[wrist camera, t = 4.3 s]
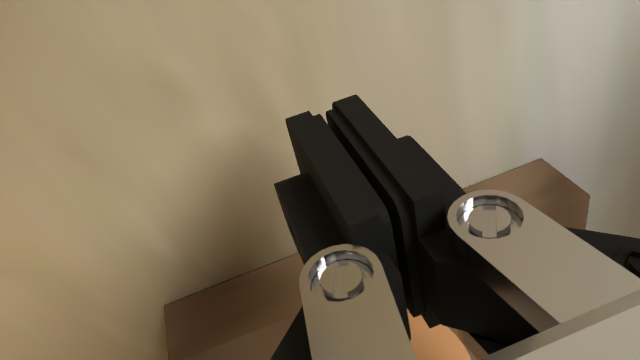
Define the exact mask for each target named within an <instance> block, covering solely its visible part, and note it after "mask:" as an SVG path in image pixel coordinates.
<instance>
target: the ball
mask: <svg viewBox="0 0 640 360" xmlns="http://www.w3.org/2000/svg"><path fill="white" fill-rule="evenodd" d="M407 314H408V320H409V326H410V332H411V340H410V343H411V346H412V349H413V352H414V354H415V357H416V360H471V358H470V355H469V353H468V352H467V350H466V348H465V346H464V345H463V344H462V342H461V341H460V340H459V338H458V337H457V336H456V335H455V334H454V333H453V332H452V331H451V330H450V329H449V328H448V327H447V326H443V325H441V324H440V325H438V326H435V327H433V328H429V327H428V325H427V324H426V322H425V320H424V319H423V317H422V316H421V315H419V316H417V317H413V316H412V315H411V314H410V312H409V310H408V309H407Z"/></svg>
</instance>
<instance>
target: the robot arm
mask: <svg viewBox="0 0 640 360" xmlns="http://www.w3.org/2000/svg"><path fill="white" fill-rule="evenodd" d="M332 108H333V109H332V110H329V111H326V118H327V122H328V124H327V123H326V122H325V120H324V119H323V117H322V116H321V115H320V114H318V115H315V116H312V114H311V113H310V112H309V111H307V112H304V113H301V114H298V115H295V116H293V117H290V118H287V119H286V125H287V128H288V132H289V135H290V139H291V142H292V146H293V149H294V153H295V156H296V160H297V163H298V166H299V170H300V173H301V174H300V175H297V176H294V177H292V178H289V179H286V180H283V181H281V182H278V183H275V184H274V186H275V189H276V192H277V195H278V198H279V201H280V204H281V207H282V210H283V213H284V216H285V219H286V222H287V224H288V227H289V230H290V232H291V235H292V237H293V240H294V242H295V245H296V247H297V250H298V252H299V254H300V257H301V259H302V262H303V264H304V266H303V269H302V271H301V273H300V277H299V287H300V293H301V299H302V305H303V306H302V307H301V309H300V311H299V312H298V314H297V316H296V317H295V319H294V321H293V322H292V324H291V326H290V327H289V329H288V331H287V332H286V334H285V336H284V337H283V339H282V341H281V342H280V344H279V346H278V347H277V349H276V351H275V352H274V354H273V356H272V357H271V359H270V360H416V357H415V354H414V352H413V349H412V346H411V343H410V340H411V332H410V326H409V320H408V314H407V309H408V310H409V312H410V314H411V315H412V316H413V317H417V316H419V315H421V316H422V317H423V319H424V320H425V322H426V324H427V325H428V327H429V328H433V327H435V326H438V325H440V324H441V325H443V326H447V327H451V328H454V329H456V331H457V335H458V336H459V338H460V340H461V341H462V343H463V344H464V345H465V346H466V347H467V348H468V349H469V350H470V352H471V353H472V354H473V355H474V356H475V357H476V358H477V359H478V360H640V239H638V238H632V237H626V236H620V235H613V234H607V233H601V232H594V231H588V230H582V229H575V228H569V227H563V226H561V225H560V224H558V223H557V222H555V221H554V220H552V219H551V218H549V217H548V216H547V215H545V214H544V213H542V212H541V211H539V210H538V209H536V208H535V207H533V206H532V205H530V204H529V203H527V202H526V201H524V200H523V199H521V198H519V197H517V196H515V195H513V194H511V193H508V192H504V191H500V190H479V191H473V192H471V193H468V194H466V193H465V191H464V190H463V189H462V188H461V187H460V186H459V185H458V184H457V183H456V182H455V181H454V180H453V179H452V178H451V177H450V176H449V175H448V174H447V173H446V172H445V171H444V170H443V169H442V168H441V167H440V166H439V165H438V164H437V163H436V162H435V160H434V159H433V158H432V157H431V156H430V155H429V154H428V153H427V152H426V151H425V150H424V149H423V148H422V147H421V146H420V145H419V144H418V143H417V142H416V141H415V140H414V139H413V138H412V137H411V136H404V137H401V138H398V139H397V138H396V137H395V136H394V135H393V134H392V133H391V132H390V131H389V130H388V129H387V127H386V126H385V125H384V124H383V123H382V122H381V121H380V120H379V119H378V118H377V116H376V115H375V114H374V113H373V112H372V111H371V110H370V109H369V108H368V107H367V105H366V104H365V103H364V102H363V101H362V100H361V99H360V98H359V97H358V96H357V95H353V96H350V97H347V98H344V99H341V100H338V101H336V102H333V104H332Z"/></svg>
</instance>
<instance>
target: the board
mask: <svg viewBox="0 0 640 360" xmlns="http://www.w3.org/2000/svg"><path fill="white" fill-rule="evenodd" d="M463 190H464V191H465V193H466V194H468V193H471V192H473V191H479V190H500V191H504V192H508V193H511V194H513V195H515V196H517V197H519V198H521V199H523V200H524V201H526V202H527V203H529V204H530V205H532V206H533V207H535V208H536V209H538V210H539V211H541V212H542V213H544V214H545V215H547V216H548V217H549V218H551V219H552V220H554V221H555V222H557V223H558V224H560V225H561V226H563V227H569V228H575V229H582V230H585V227H586V220H587V213H588V206H589V199H590V195H589V194H588V193H586V192H585V191H584V190H582V189H581V188H580V187H578V186H577V185H576V184H574V183H573V182H572V181H571V180H569V179H568V178H567V177H565V176H564V175H563V174H561V173H560V172H559V171H557V170H556V169H555V168H554V167H552V166H551V165H550V164H548V163H547V162H546V161H544V160H543V159H542V158H541V159H539V160H536V161H534V162H531V163H528V164H526V165H523V166H521V167H518V168H516V169H513V170H511V171H508V172H505V173H503V174H500V175H498V176H495V177H493V178H490V179H487V180H485V181H482V182H480V183H477V184H475V185H472V186H470V187H467V188H464V189H463ZM303 266H304V264H303V262H302V259H301V257H300V254H299V253H298V254H295V255H293V256H290V257H288V258H285V259H282V260H280V261H277V262H275V263H272V264H270V265H267V266H264V267H262V268H259V269H257V270H254V271H252V272H249V273H247V274H244V275H241V276H239V277H236V278H234V279H231V280H229V281H226V282H223V283H221V284H218V285H216V286H213V287H211V288H208V289H206V290H203V291H200V292H198V293H195V294H193V295H190V296H188V297H185V298H182V299H180V300H177V301H175V302H172V303H170V304H167V305H165V306H164V308H165V321H166V333H167V346H168V358H169V360H270V359H271V357H272V356H273V354H274V352H275V351H276V349H277V347H278V346H279V344H280V342H281V341H282V339H283V337H284V336H285V334H286V332H287V331H288V329H289V327H290V326H291V324H292V322H293V321H294V319H295V317H296V316H297V314H298V312H299V311H300V309H301V307H302V306H303V305H302V299H301V293H300V287H299V277H300V273H301V271H302V269H303ZM448 328H449V329H450V330H451V331H452V332H453V333H454V334H455V335H456V336H457V337H458V338H459V336H458V335H457V331H456V329H454V328H451V327H448ZM459 340H460V338H459ZM460 341H461V340H460ZM461 342H462V341H461ZM462 344H463V343H462ZM463 345H464V344H463ZM464 346H465V345H464ZM465 348H466V350H467V352H468V353H469V355H470V358H471V360H478V359H477V358H476V357H475V356H474V355H473V354H472V353H471V352H470V350H469V349H468V348H467V347H466V346H465Z"/></svg>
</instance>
